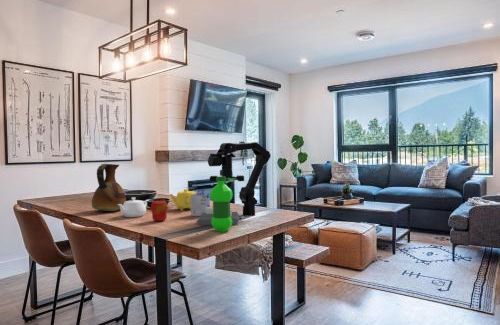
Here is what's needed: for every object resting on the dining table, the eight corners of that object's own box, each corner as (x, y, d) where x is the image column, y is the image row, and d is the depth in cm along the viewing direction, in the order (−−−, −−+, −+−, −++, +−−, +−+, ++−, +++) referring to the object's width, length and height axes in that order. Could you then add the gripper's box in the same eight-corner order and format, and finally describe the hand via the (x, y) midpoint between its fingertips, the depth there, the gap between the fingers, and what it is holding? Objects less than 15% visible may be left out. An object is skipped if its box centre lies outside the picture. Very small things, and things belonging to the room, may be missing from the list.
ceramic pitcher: (131, 208, 230) (130, 162, 229) (114, 214, 210) (113, 164, 209) (104, 208, 233) (103, 162, 232) (85, 213, 214) (83, 164, 213)
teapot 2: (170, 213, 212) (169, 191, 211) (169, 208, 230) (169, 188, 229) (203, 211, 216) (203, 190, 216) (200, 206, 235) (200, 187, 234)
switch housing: (238, 218, 192) (238, 211, 192) (237, 224, 176) (237, 217, 176) (201, 218, 192) (201, 212, 192) (197, 225, 176) (197, 217, 176)
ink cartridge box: (210, 214, 204) (209, 189, 203) (207, 216, 198) (206, 191, 198) (194, 214, 206) (193, 189, 205) (190, 216, 200) (190, 190, 200)
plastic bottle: (237, 230, 163) (236, 176, 162) (217, 234, 157) (216, 178, 156) (225, 226, 171) (225, 175, 170) (206, 230, 165) (205, 176, 164)
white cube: (214, 214, 190) (214, 207, 190) (213, 215, 187) (213, 208, 187) (206, 214, 190) (206, 207, 190) (206, 215, 187) (205, 208, 187)
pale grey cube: (231, 217, 181) (231, 209, 181) (231, 218, 178) (231, 210, 178) (224, 217, 181) (223, 209, 181) (223, 218, 178) (223, 211, 178)
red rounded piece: (151, 223, 183) (150, 200, 182) (151, 220, 191) (150, 198, 190) (168, 221, 185) (167, 199, 185) (167, 218, 193) (166, 197, 193)
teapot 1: (138, 212, 216) (137, 194, 215) (155, 213, 210) (155, 195, 209) (109, 218, 196) (108, 199, 196) (127, 220, 190) (126, 200, 190)
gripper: (244, 164, 201) (244, 192, 202) (211, 165, 201) (211, 192, 202) (243, 165, 190) (244, 194, 191) (209, 166, 190) (209, 195, 191)
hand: (227, 194), depth 194 cm, fingers closed
